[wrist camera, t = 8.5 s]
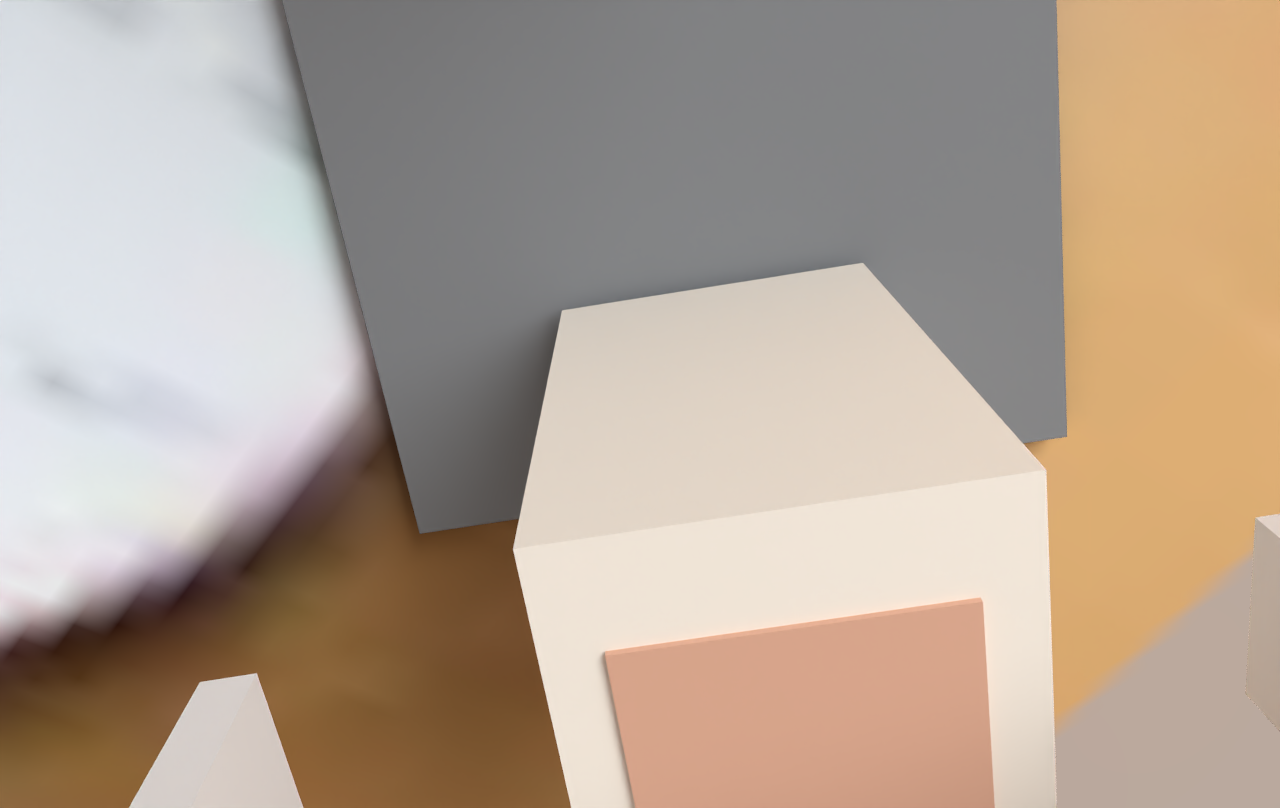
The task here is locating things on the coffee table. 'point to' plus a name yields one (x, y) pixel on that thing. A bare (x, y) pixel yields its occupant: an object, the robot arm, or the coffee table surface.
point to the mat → (676, 189)
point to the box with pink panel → (784, 559)
